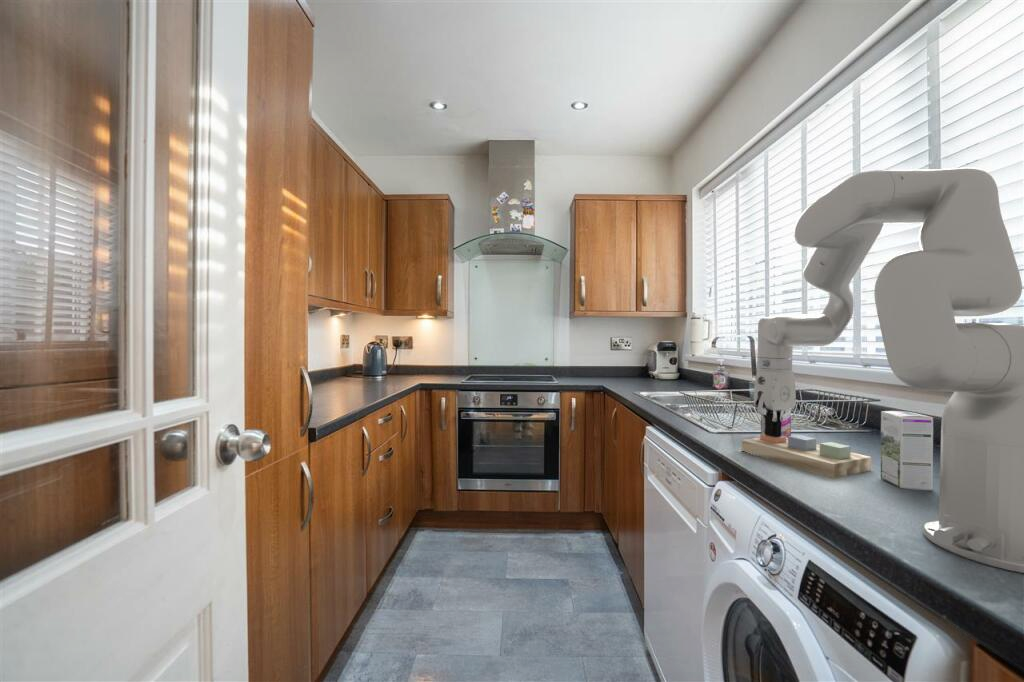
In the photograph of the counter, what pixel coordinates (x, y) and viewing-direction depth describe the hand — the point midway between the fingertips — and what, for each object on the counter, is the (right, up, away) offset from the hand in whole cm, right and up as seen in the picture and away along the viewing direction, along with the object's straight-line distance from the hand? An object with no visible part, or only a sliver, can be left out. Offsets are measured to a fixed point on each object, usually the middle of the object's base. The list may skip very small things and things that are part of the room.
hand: (772, 435), depth 102 cm
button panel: (+3, -4, -7) cm, 8 cm away
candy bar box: (+9, -5, +12) cm, 16 cm away
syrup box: (+12, -5, -22) cm, 26 cm away
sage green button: (+5, -2, -13) cm, 14 cm away
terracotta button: (0, -3, 0) cm, 3 cm away
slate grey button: (+3, -2, -7) cm, 7 cm away
